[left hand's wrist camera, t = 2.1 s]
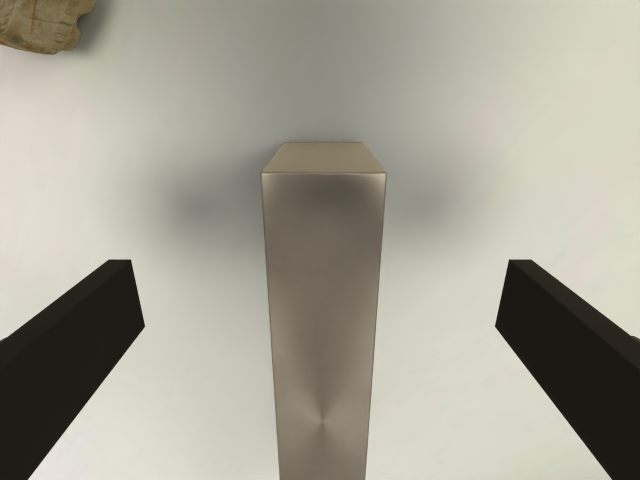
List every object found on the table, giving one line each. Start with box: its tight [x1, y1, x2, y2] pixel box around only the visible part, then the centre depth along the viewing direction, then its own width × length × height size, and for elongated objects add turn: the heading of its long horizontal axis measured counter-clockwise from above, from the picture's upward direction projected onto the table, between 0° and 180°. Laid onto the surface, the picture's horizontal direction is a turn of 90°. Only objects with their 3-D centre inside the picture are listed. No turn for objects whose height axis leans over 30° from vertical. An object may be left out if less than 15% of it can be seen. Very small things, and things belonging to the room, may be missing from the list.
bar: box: [261, 142, 387, 480], centre depth 22 cm, size 25×5×8 cm, turn 0°
